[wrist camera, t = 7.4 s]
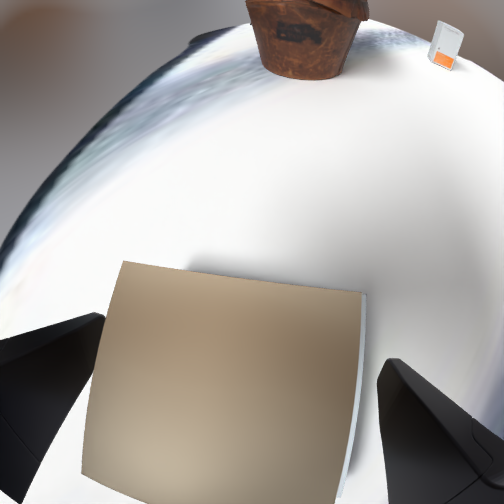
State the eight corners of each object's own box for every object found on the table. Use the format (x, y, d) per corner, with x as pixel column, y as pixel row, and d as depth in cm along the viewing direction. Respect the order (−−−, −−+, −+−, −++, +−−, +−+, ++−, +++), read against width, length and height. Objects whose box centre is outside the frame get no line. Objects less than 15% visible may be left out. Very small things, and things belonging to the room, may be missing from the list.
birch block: (282, 434, 14) (326, 529, 3) (198, 420, 14) (81, 473, 3) (294, 355, 16) (361, 292, 5) (212, 344, 16) (123, 260, 6)
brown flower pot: (334, 46, 41) (342, -31, 25) (377, 96, 32) (400, -12, 16) (243, 45, 41) (236, -36, 25) (253, 94, 32) (244, -31, 16)
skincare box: (430, 62, 42) (442, 23, 32) (426, 56, 44) (437, 19, 34) (451, 71, 42) (464, 34, 31) (447, 65, 43) (458, 29, 33)
